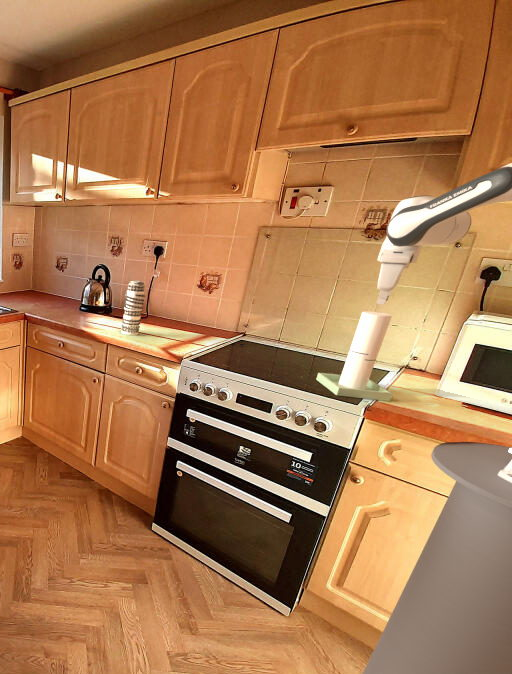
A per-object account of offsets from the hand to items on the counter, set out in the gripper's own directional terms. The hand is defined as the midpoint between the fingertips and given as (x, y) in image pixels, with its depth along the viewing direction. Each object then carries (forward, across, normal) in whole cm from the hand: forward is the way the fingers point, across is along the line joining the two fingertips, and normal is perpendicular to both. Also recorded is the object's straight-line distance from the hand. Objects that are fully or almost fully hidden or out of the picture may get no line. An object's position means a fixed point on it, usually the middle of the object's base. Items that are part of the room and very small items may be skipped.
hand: (382, 302), depth 130 cm
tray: (+29, 0, 0) cm, 29 cm away
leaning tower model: (+29, -14, -89) cm, 94 cm away
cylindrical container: (+29, +1, 0) cm, 29 cm away
